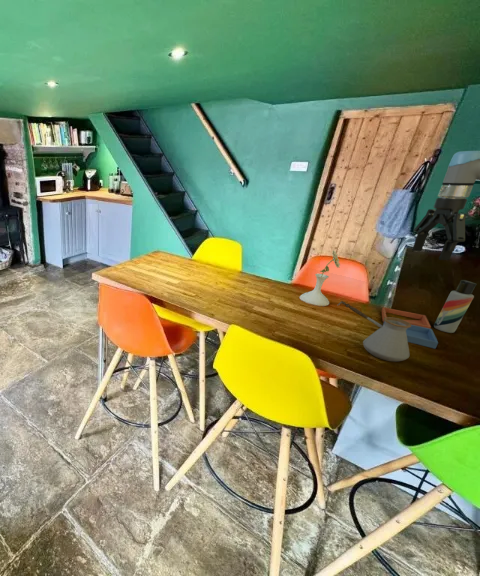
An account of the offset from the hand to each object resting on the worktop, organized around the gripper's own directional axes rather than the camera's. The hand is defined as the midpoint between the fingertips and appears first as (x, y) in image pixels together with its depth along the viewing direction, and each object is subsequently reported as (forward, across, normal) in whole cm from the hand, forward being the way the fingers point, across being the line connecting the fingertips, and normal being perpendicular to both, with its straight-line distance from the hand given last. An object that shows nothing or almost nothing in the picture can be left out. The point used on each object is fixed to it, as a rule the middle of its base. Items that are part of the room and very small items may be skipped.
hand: (429, 254), depth 116 cm
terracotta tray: (+27, +5, -4) cm, 28 cm away
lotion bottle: (+27, +9, +7) cm, 29 cm away
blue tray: (+27, +18, -10) cm, 34 cm away
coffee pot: (+27, +32, -31) cm, 52 cm away
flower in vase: (+27, -8, -31) cm, 41 cm away
